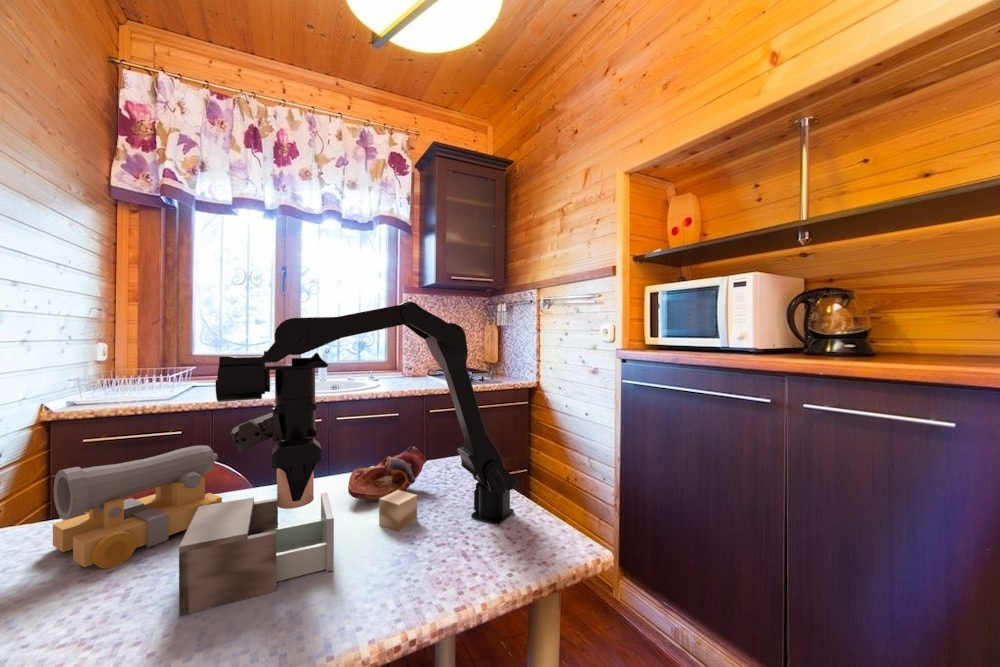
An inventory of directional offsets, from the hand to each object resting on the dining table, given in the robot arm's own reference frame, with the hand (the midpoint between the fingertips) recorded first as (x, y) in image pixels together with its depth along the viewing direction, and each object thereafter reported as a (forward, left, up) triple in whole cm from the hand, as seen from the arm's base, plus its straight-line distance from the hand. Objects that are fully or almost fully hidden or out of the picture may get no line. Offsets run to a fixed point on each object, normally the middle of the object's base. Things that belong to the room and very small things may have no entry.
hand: (296, 494), depth 65 cm
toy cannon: (+31, +8, -11) cm, 34 cm away
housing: (+4, +7, -11) cm, 14 cm away
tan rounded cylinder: (0, 0, -1) cm, 1 cm away
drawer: (0, 0, -11) cm, 11 cm away
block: (-5, -18, -11) cm, 22 cm away
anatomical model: (+7, -26, -11) cm, 30 cm away
